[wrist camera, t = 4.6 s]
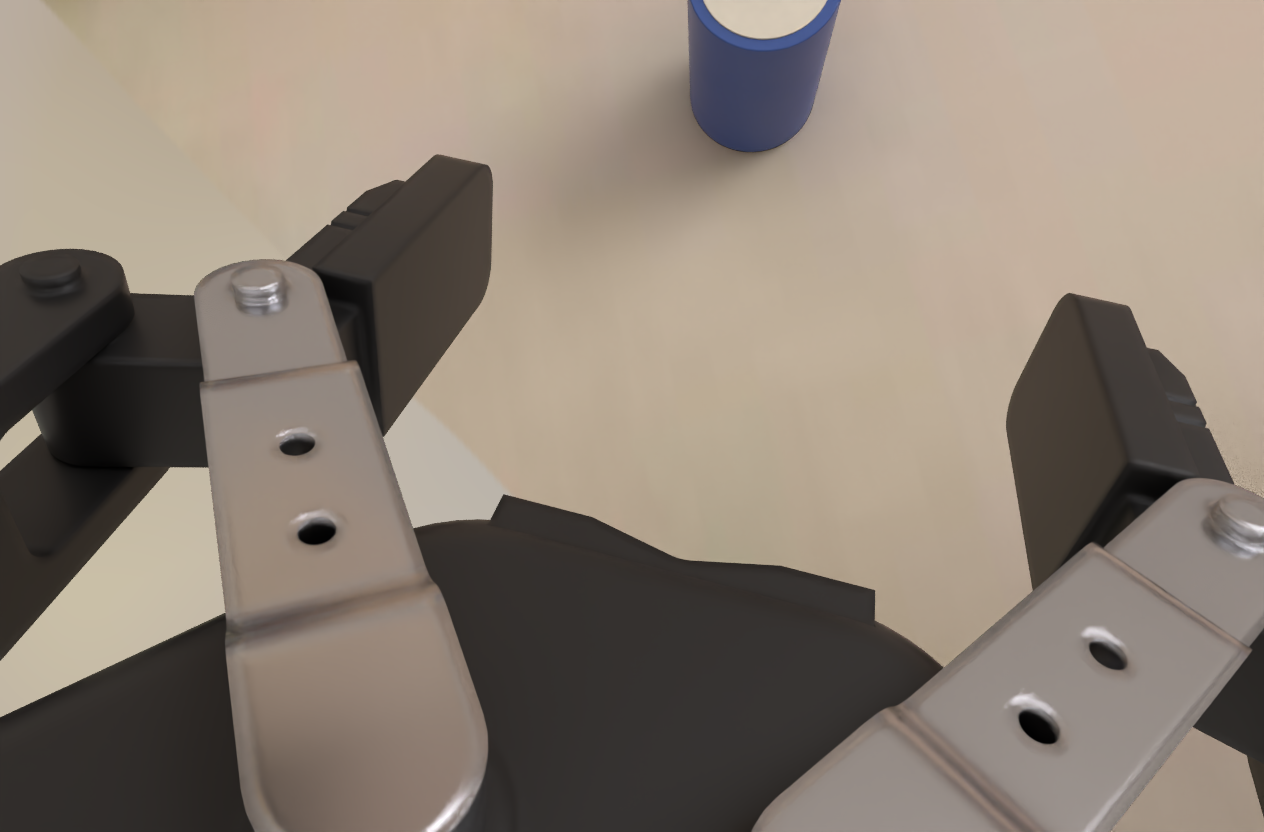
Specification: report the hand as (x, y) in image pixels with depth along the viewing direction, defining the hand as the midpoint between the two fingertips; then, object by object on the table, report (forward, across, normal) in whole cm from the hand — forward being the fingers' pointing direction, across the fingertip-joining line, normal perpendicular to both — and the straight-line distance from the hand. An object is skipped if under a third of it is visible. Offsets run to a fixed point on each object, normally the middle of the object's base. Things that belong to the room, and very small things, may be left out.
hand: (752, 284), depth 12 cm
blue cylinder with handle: (+28, +2, +4) cm, 29 cm away
